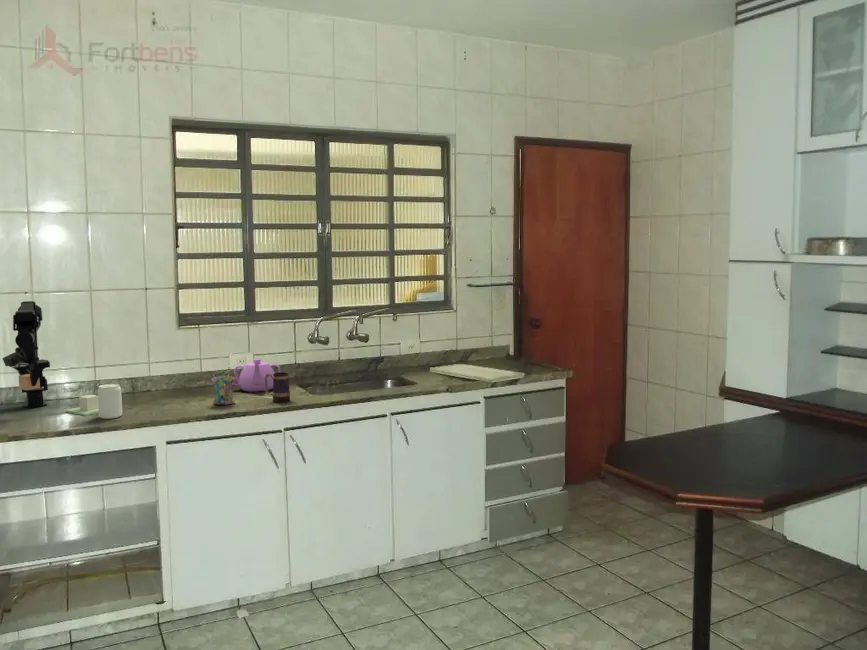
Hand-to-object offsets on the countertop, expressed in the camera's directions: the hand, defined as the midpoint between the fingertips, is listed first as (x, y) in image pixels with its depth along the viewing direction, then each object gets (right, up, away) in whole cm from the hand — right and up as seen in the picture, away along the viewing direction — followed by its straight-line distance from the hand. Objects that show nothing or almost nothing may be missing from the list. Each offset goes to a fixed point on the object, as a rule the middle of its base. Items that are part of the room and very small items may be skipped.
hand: (29, 385), depth 277 cm
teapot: (+75, -7, +49) cm, 90 cm away
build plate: (+18, -11, +10) cm, 23 cm away
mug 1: (+68, -10, +21) cm, 72 cm away
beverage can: (+31, -12, 0) cm, 33 cm away
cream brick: (+18, -10, +10) cm, 23 cm away
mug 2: (+88, -9, +26) cm, 93 cm away
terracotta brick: (0, -1, 0) cm, 1 cm away
